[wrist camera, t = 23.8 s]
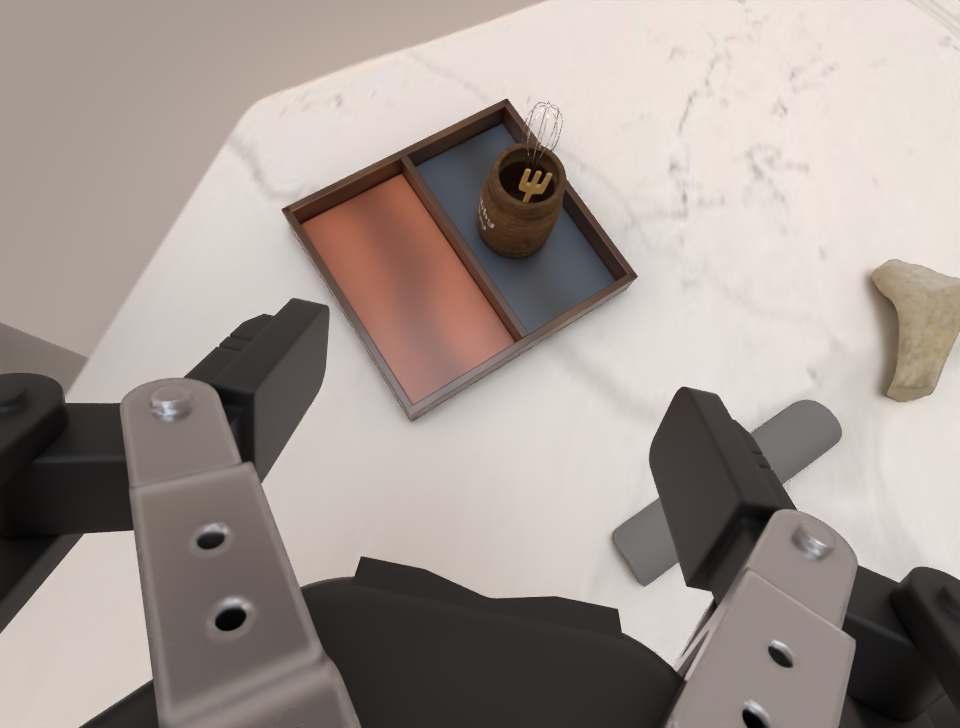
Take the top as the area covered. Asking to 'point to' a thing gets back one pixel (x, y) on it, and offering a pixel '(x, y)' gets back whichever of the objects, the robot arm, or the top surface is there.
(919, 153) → the top surface
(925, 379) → the stone
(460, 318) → the sorting tray
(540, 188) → the utensil holder
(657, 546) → the half round rod
